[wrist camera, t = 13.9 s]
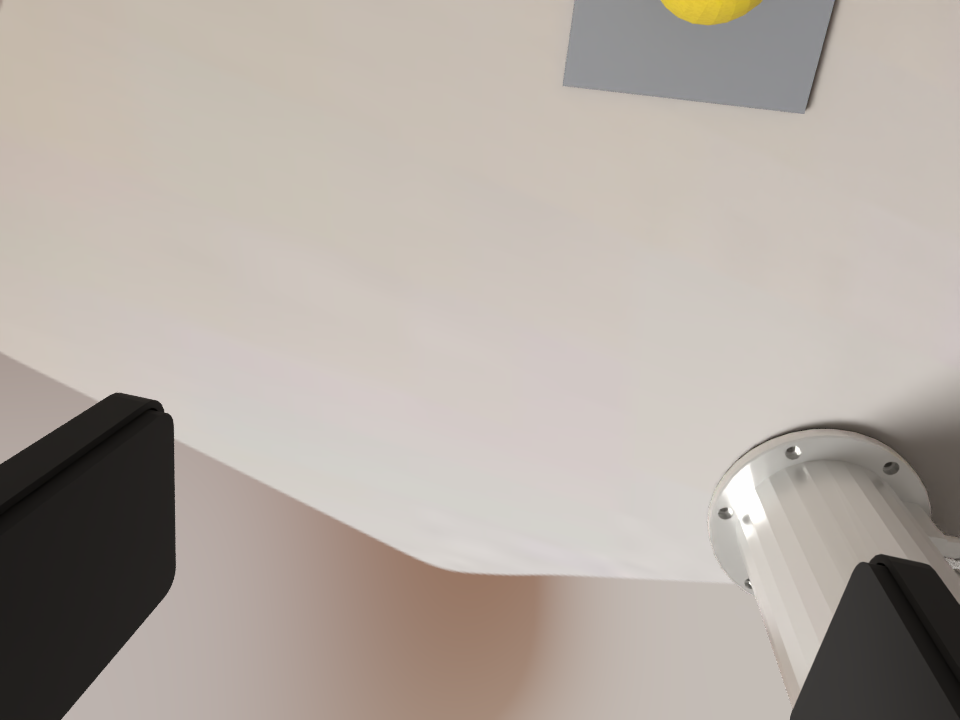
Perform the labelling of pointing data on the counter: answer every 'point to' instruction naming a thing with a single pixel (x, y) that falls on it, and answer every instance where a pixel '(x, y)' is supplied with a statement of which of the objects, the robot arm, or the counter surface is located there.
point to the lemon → (710, 10)
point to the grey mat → (699, 52)
